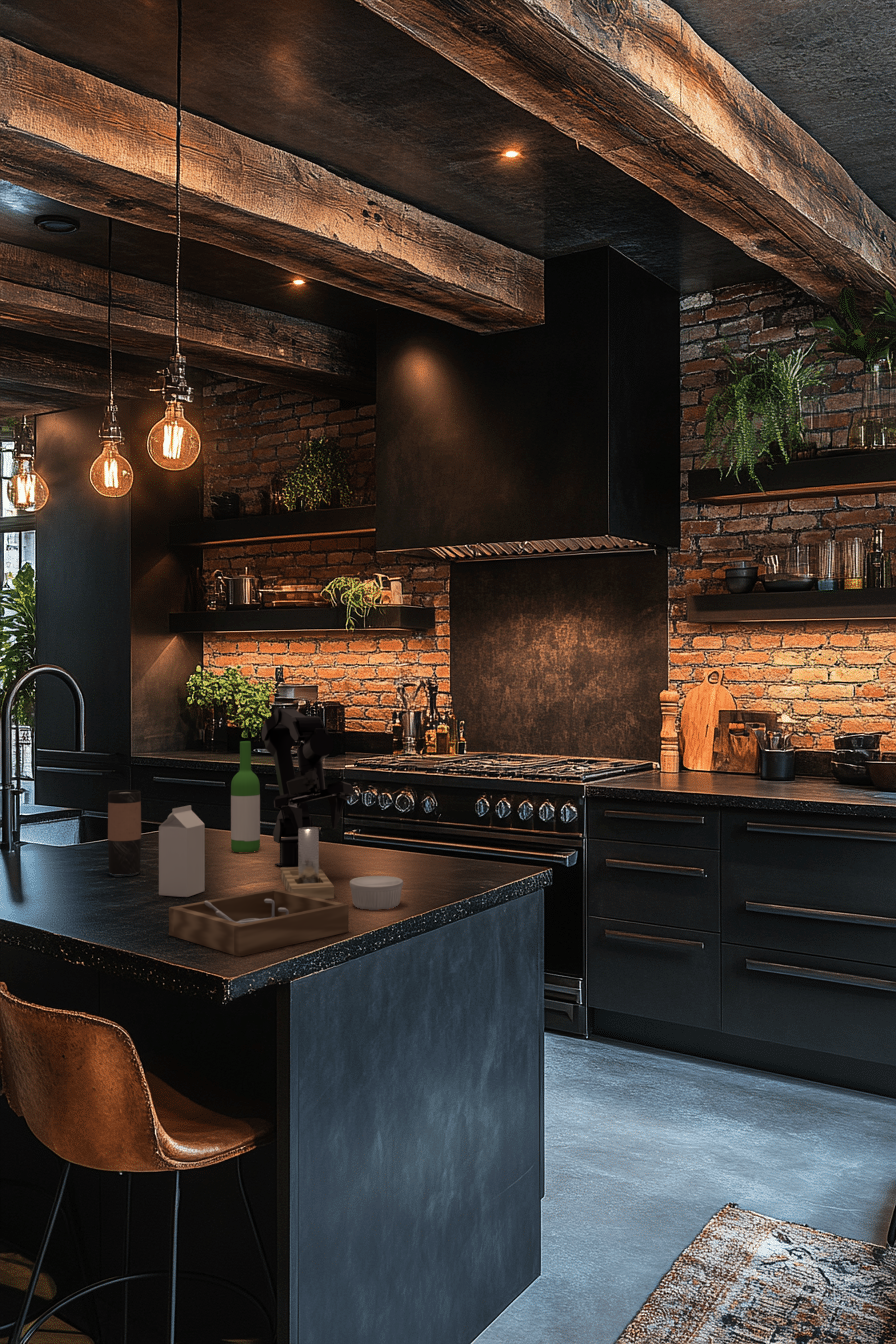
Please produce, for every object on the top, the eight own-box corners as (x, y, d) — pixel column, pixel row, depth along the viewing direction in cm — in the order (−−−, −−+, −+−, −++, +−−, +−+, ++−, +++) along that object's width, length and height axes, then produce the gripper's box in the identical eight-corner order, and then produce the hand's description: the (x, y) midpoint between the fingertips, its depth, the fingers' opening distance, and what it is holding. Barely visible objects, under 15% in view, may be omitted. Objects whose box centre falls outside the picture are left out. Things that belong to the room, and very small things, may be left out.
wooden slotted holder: (280, 878, 249) (280, 867, 249) (318, 876, 251) (318, 865, 251) (291, 900, 223) (291, 888, 223) (334, 898, 226) (334, 886, 226)
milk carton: (204, 891, 233) (204, 805, 233) (186, 898, 226) (186, 809, 227) (177, 889, 235) (177, 804, 236) (158, 896, 229) (158, 808, 229)
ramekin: (382, 914, 211) (382, 887, 211) (338, 908, 217) (338, 882, 217) (413, 904, 220) (413, 878, 220) (370, 898, 226) (370, 873, 226)
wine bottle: (236, 849, 292) (236, 740, 292) (263, 849, 291) (263, 740, 291) (226, 853, 284) (226, 742, 284) (254, 854, 283) (254, 742, 283)
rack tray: (168, 934, 194) (168, 907, 194) (275, 913, 211) (275, 888, 211) (239, 956, 178) (239, 927, 178) (348, 931, 196) (348, 904, 196)
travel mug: (147, 873, 256) (147, 790, 256) (125, 878, 249) (125, 793, 249) (123, 870, 259) (123, 789, 259) (100, 876, 252) (100, 792, 252)
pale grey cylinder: (294, 893, 231) (294, 829, 231) (306, 889, 235) (306, 826, 235) (311, 894, 229) (311, 830, 229) (322, 891, 233) (322, 827, 233)
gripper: (258, 770, 247) (264, 836, 242) (328, 753, 241) (335, 821, 236) (283, 777, 257) (289, 840, 252) (351, 761, 251) (358, 826, 246)
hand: (317, 832), depth 246 cm, fingers open, 9 cm apart
